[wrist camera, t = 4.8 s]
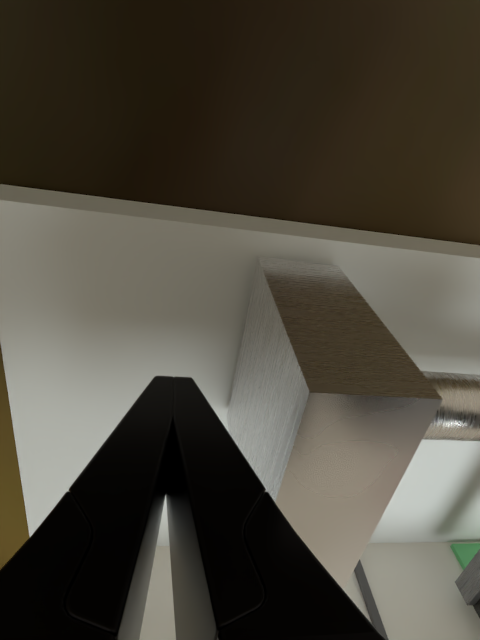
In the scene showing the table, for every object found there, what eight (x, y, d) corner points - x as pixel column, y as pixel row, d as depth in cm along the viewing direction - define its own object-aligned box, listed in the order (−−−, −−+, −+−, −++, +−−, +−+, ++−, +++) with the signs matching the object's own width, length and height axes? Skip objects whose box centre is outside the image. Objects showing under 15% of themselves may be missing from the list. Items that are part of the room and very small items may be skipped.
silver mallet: (201, 545, 15) (209, 783, 10) (257, 256, 10) (337, 464, 5) (487, 541, 17) (613, 737, 12) (669, 302, 12) (1040, 479, 7)
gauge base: (43, 533, 16) (-65, 882, 9) (0, 184, 10) (-485, 480, 3) (587, 528, 21) (792, 760, 14) (812, 287, 14) (1425, 499, 7)
